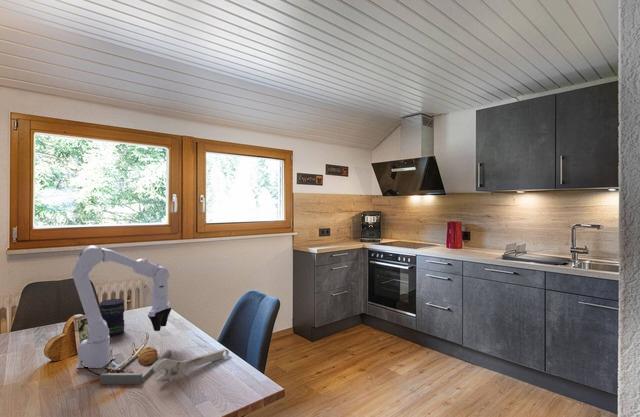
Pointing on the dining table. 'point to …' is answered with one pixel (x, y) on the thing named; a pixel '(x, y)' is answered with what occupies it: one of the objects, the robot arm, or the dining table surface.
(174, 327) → the dining table surface
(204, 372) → the dining table surface
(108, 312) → the storage jar
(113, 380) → the bay
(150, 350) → the pastry
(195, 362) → the wrench
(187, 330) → the dining table surface
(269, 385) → the dining table surface
